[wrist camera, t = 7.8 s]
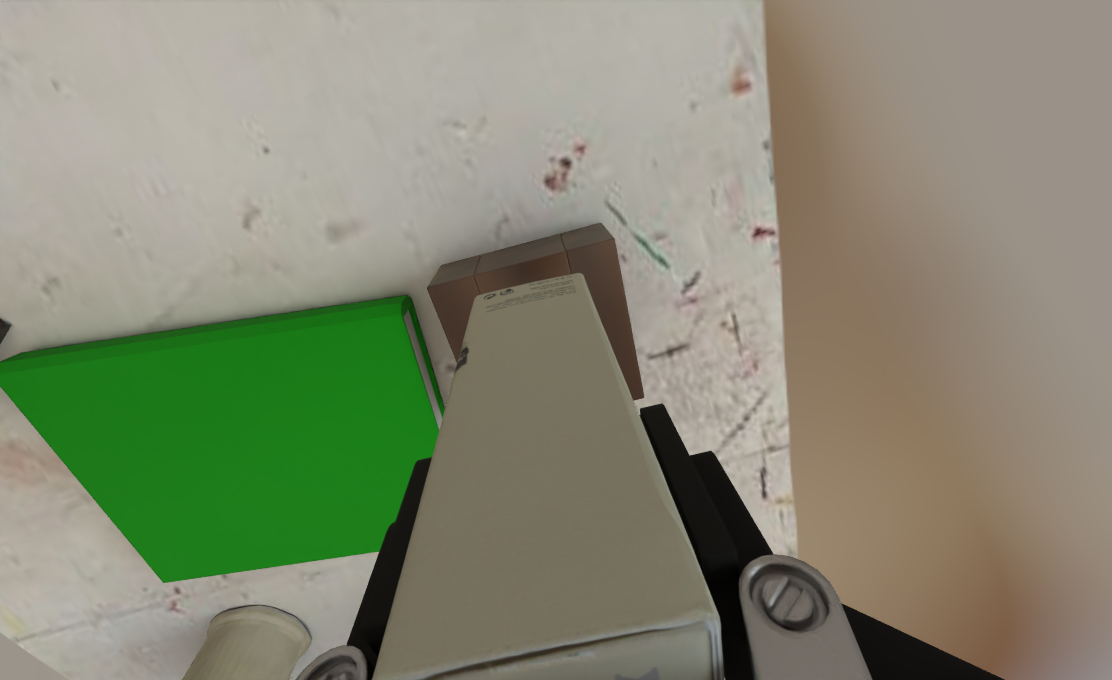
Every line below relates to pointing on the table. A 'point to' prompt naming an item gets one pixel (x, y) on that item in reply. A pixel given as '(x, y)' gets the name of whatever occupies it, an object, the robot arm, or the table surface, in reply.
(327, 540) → the book
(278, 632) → the lamp
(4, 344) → the table surface
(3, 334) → the phone stand
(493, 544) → the box
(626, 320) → the brown frame
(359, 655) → the robot arm
